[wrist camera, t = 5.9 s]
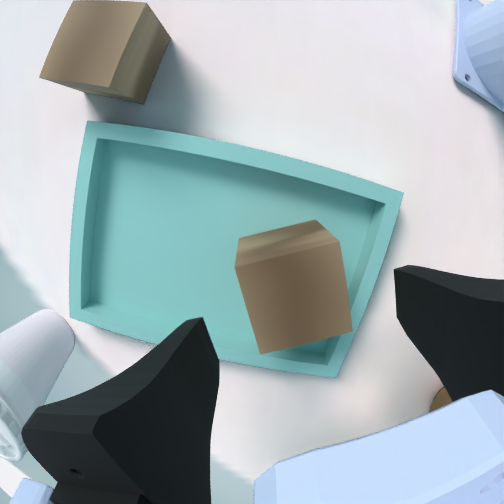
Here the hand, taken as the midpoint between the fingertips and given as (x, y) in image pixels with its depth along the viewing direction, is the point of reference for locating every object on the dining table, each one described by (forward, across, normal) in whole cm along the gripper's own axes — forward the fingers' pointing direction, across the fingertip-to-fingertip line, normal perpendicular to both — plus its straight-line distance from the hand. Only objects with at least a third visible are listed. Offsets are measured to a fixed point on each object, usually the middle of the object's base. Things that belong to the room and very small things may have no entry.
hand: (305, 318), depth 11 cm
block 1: (+6, +6, -13) cm, 15 cm away
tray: (+6, +3, -2) cm, 7 cm away
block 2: (+6, 0, 0) cm, 6 cm away
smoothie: (+6, +16, +1) cm, 18 cm away
